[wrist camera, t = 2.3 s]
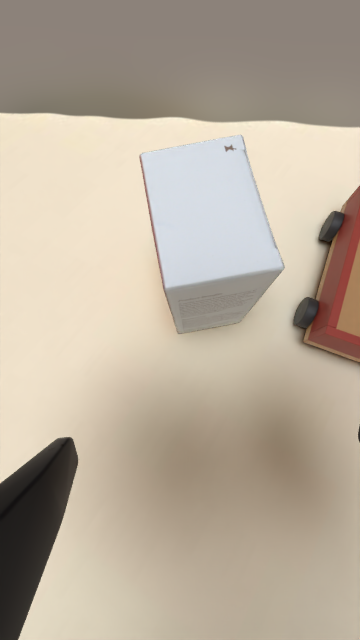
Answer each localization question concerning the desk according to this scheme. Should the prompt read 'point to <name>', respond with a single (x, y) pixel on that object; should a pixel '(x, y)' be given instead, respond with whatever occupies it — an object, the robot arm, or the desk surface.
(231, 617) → the desk surface
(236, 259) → the small box
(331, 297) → the cart
